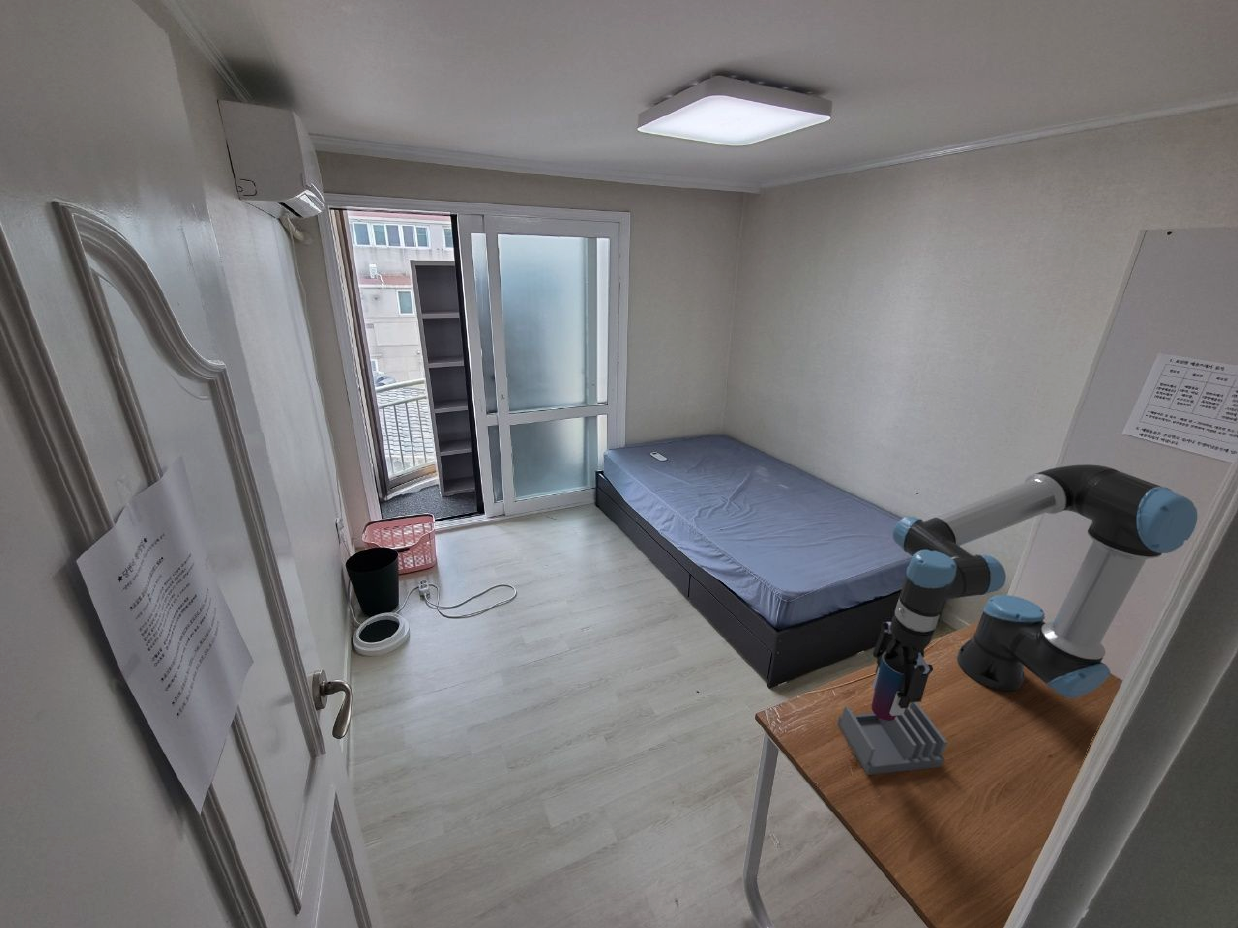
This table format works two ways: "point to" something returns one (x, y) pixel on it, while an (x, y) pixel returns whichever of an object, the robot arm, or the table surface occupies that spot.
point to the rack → (893, 740)
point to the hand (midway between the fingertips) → (887, 700)
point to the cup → (887, 687)
